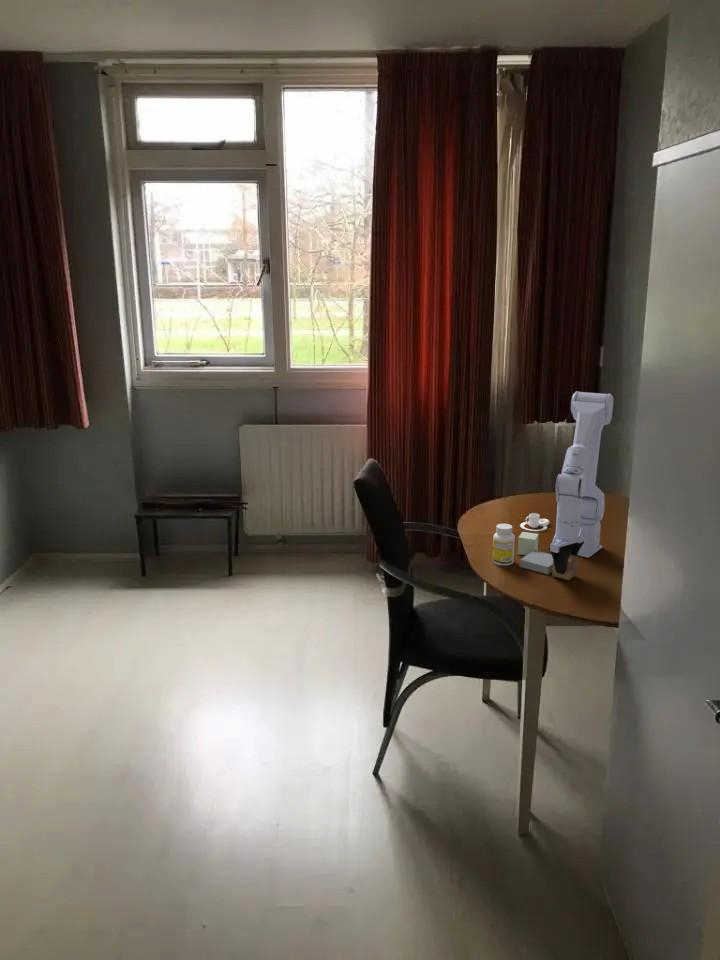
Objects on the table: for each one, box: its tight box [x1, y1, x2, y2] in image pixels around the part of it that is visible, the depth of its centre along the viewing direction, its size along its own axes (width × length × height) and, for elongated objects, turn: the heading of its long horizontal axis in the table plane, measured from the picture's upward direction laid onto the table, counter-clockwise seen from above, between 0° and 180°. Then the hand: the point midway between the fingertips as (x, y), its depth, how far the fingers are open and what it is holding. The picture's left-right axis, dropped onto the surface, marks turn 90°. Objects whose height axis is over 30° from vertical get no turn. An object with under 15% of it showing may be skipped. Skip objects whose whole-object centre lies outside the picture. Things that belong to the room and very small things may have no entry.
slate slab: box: [519, 550, 553, 575], centre depth 203 cm, size 8×8×2 cm
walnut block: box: [551, 554, 579, 581], centre depth 195 cm, size 4×4×5 cm
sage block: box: [517, 531, 539, 556], centre depth 211 cm, size 4×4×5 cm
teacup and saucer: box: [519, 512, 550, 532], centre depth 230 cm, size 9×8×4 cm
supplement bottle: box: [492, 523, 516, 566], centre depth 204 cm, size 6×6×10 cm
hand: (564, 569), depth 195 cm, fingers closed on walnut block, 4 cm apart
